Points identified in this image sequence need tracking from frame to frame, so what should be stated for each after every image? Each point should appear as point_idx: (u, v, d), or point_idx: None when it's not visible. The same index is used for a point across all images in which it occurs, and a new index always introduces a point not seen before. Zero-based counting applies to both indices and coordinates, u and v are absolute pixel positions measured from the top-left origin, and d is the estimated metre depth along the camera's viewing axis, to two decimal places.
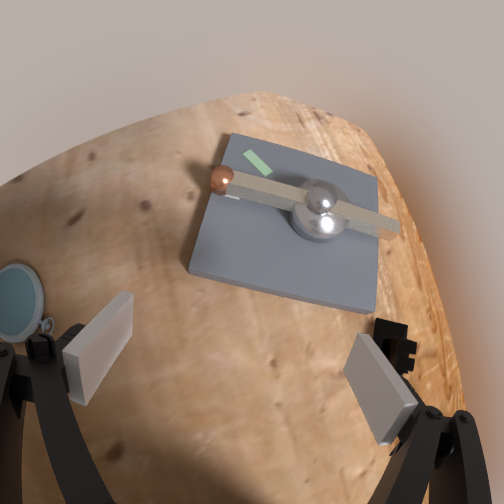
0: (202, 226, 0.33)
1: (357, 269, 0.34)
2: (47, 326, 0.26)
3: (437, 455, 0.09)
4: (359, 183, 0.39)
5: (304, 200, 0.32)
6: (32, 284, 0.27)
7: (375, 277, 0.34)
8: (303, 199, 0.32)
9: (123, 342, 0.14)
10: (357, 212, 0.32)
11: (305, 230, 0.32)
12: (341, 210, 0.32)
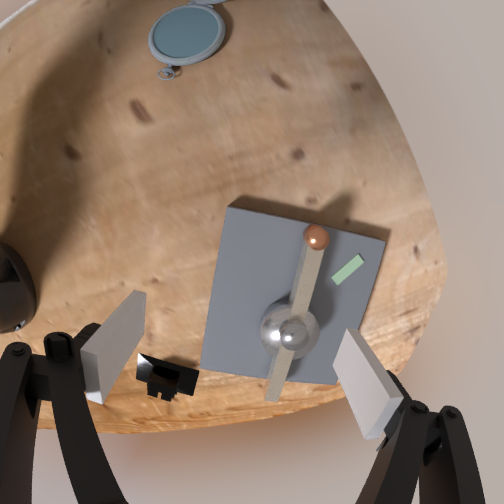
0: (271, 217, 0.33)
1: (237, 357, 0.38)
2: (165, 74, 0.30)
3: (425, 452, 0.09)
4: (327, 367, 0.38)
5: (292, 318, 0.32)
6: (203, 49, 0.29)
7: (230, 372, 0.38)
8: (293, 317, 0.32)
9: (136, 341, 0.15)
10: (283, 365, 0.34)
11: (266, 316, 0.34)
12: (283, 351, 0.33)
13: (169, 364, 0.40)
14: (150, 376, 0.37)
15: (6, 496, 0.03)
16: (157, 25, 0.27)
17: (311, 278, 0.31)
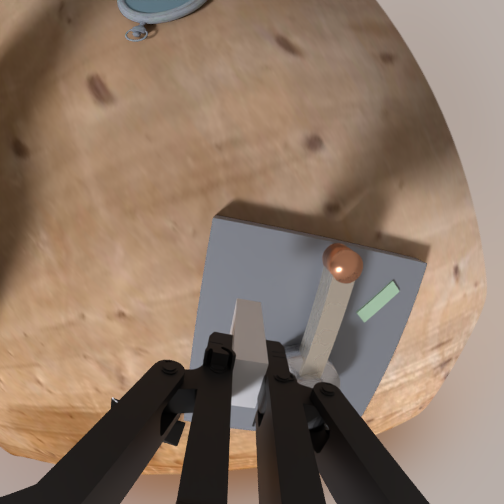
0: (277, 232, 0.23)
1: (231, 410, 0.27)
2: (135, 34, 0.19)
3: (310, 435, 0.10)
4: None
5: (305, 373, 0.22)
6: (186, 2, 0.18)
7: None
8: (307, 372, 0.22)
9: None
10: None
11: None
12: None
13: None
14: None
15: (92, 500, 0.04)
16: None
17: (334, 321, 0.21)
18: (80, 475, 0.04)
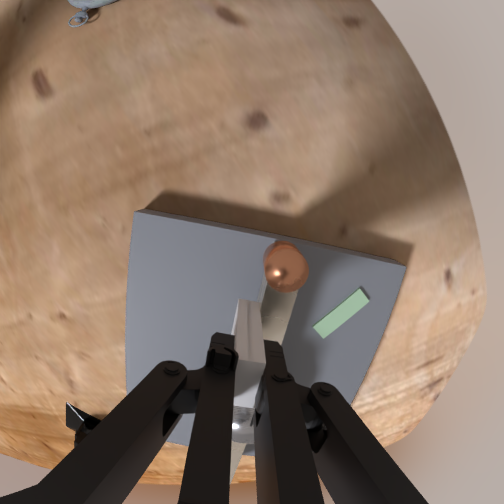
0: (205, 227, 0.19)
1: None
2: (76, 19, 0.15)
3: (308, 435, 0.10)
4: None
5: None
6: None
7: (170, 440, 0.24)
8: None
9: None
10: (232, 451, 0.20)
11: None
12: None
13: None
14: (77, 435, 0.23)
15: (93, 501, 0.04)
16: None
17: (273, 339, 0.17)
18: (82, 475, 0.05)
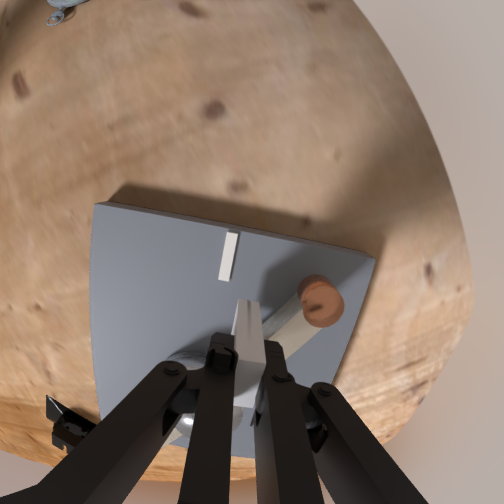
0: (159, 218, 0.19)
1: None
2: (53, 18, 0.15)
3: (308, 435, 0.10)
4: None
5: None
6: None
7: None
8: None
9: None
10: None
11: None
12: None
13: (79, 417, 0.26)
14: (55, 427, 0.23)
15: (93, 501, 0.04)
16: None
17: None
18: (82, 475, 0.05)
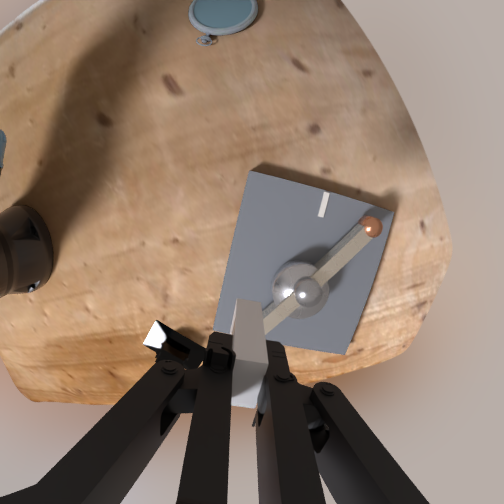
0: (289, 182, 0.35)
1: None
2: (203, 40, 0.32)
3: (310, 436, 0.10)
4: (337, 335, 0.40)
5: (314, 277, 0.34)
6: (238, 23, 0.31)
7: None
8: (316, 277, 0.34)
9: None
10: (277, 316, 0.35)
11: (292, 264, 0.36)
12: (287, 302, 0.35)
13: (183, 337, 0.43)
14: (163, 344, 0.40)
15: (92, 500, 0.04)
16: (197, 0, 0.30)
17: (350, 254, 0.34)
18: (80, 475, 0.04)
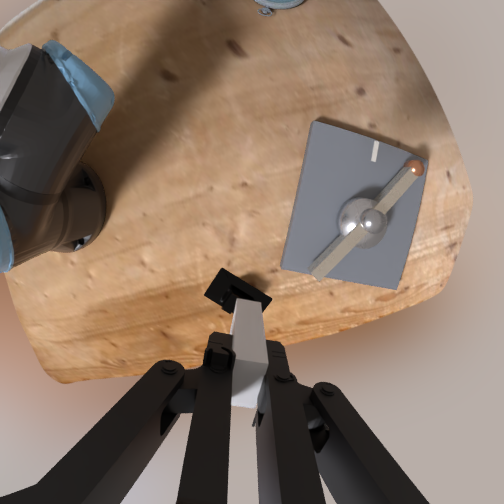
0: (347, 131, 0.38)
1: (317, 256, 0.43)
2: (265, 11, 0.34)
3: (310, 436, 0.10)
4: (390, 269, 0.43)
5: (376, 208, 0.37)
6: (293, 0, 0.33)
7: (309, 272, 0.43)
8: (377, 208, 0.37)
9: None
10: (347, 245, 0.38)
11: (355, 199, 0.39)
12: (355, 232, 0.38)
13: (247, 285, 0.45)
14: (231, 290, 0.43)
15: (92, 500, 0.04)
16: None
17: (402, 189, 0.37)
18: (80, 475, 0.04)
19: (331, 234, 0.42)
